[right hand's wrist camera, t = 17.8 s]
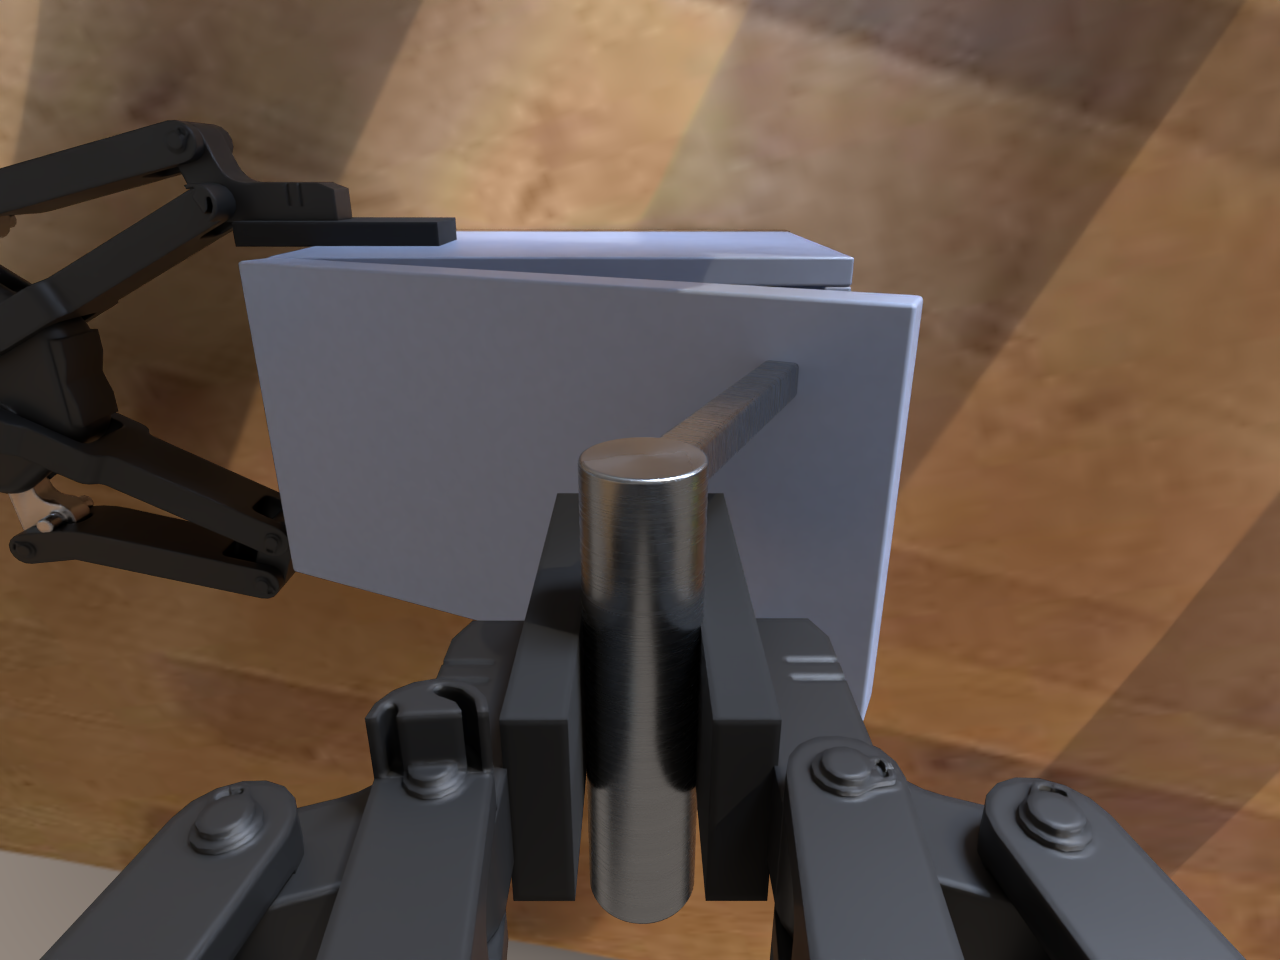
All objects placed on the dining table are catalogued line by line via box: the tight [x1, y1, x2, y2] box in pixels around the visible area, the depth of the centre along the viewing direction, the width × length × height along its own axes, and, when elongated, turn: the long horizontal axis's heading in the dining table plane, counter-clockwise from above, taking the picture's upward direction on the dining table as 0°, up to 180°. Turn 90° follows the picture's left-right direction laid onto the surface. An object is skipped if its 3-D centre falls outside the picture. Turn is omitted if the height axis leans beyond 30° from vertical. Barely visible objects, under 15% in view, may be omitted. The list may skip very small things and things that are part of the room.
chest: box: [269, 230, 854, 291], centre depth 29 cm, size 16×9×11 cm, turn 90°
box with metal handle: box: [239, 257, 923, 924], centre depth 17 cm, size 17×9×9 cm, turn 89°
